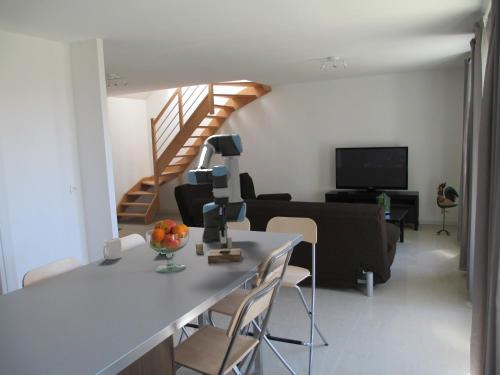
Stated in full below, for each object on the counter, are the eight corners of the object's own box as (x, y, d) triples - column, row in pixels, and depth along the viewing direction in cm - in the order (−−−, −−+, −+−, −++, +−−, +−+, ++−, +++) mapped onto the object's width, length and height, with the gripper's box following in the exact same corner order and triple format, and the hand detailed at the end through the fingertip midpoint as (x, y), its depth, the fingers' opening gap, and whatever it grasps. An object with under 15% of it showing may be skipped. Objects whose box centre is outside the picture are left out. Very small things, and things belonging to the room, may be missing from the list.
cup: (125, 256, 229) (123, 238, 228) (110, 262, 218) (108, 243, 217) (114, 255, 232) (112, 237, 231) (98, 261, 221) (96, 242, 220)
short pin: (196, 252, 228) (196, 243, 228) (204, 251, 228) (203, 242, 228) (195, 254, 224) (194, 245, 224) (202, 253, 224) (202, 244, 224)
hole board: (211, 257, 216) (211, 249, 215) (241, 255, 215) (241, 248, 214) (208, 263, 204) (207, 255, 203) (240, 262, 203) (239, 254, 203)
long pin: (220, 246, 210) (219, 223, 209) (228, 246, 210) (227, 223, 209) (220, 248, 206) (218, 225, 205) (227, 248, 206) (226, 224, 205)
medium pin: (225, 250, 227) (224, 236, 227) (232, 250, 227) (231, 236, 226) (224, 252, 223) (223, 238, 223) (231, 252, 223) (231, 237, 222)
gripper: (216, 194, 215) (218, 238, 217) (211, 198, 198) (214, 246, 200) (230, 194, 214) (233, 238, 216) (226, 198, 197) (229, 245, 199)
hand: (224, 241), depth 208 cm, fingers closed on long pin, 4 cm apart
